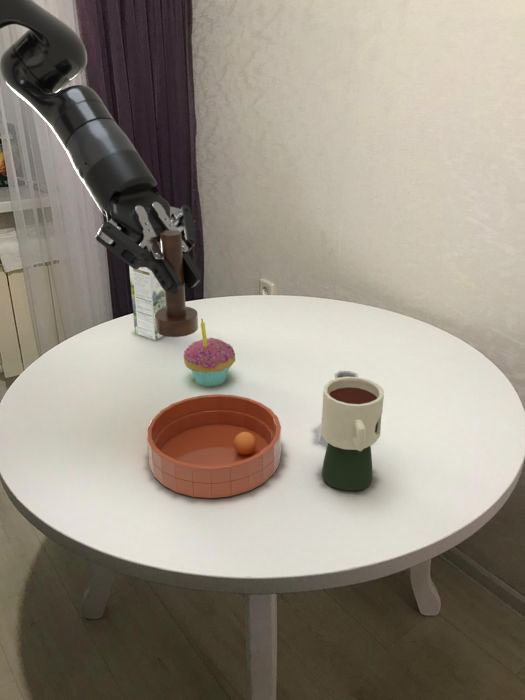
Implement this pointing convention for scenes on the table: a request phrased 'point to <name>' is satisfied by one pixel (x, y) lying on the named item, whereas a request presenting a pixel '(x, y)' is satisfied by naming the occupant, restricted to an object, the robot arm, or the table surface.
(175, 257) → the brown peg stand
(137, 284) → the syrup box
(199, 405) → the bowl
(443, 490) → the table surface
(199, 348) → the cupcake
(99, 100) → the robot arm
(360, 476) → the character mug
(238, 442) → the ball
